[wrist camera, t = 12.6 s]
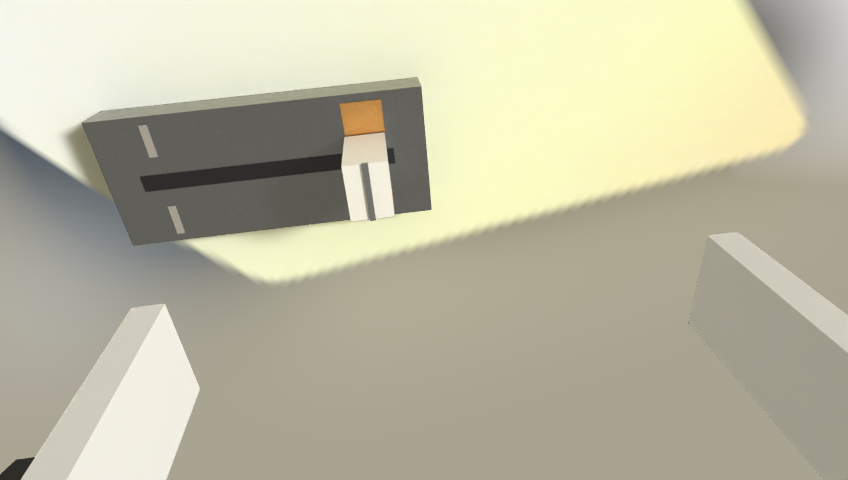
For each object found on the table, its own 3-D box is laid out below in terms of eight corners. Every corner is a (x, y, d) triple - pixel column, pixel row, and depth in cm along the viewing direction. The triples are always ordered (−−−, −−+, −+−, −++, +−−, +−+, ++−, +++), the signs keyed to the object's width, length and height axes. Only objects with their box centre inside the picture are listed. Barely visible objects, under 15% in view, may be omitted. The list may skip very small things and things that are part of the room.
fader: (344, 136, 38) (341, 166, 33) (384, 131, 39) (387, 161, 33) (352, 186, 40) (350, 223, 35) (390, 182, 41) (394, 217, 35)
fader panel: (100, 111, 39) (80, 123, 36) (417, 77, 40) (421, 86, 37) (146, 227, 44) (132, 246, 41) (427, 194, 45) (431, 210, 42)
